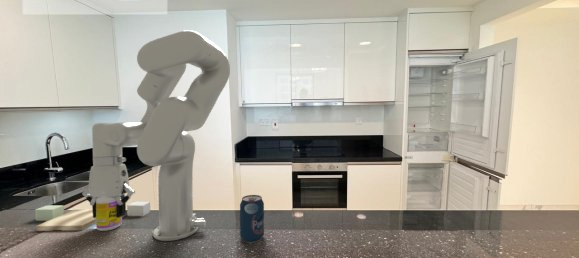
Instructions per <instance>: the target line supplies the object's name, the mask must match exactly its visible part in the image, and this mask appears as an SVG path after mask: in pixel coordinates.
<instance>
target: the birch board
mask: <svg viewBox="0 0 579 258" xmlns="http://www.w3.org/2000/svg"><path fill="white" fill-rule="evenodd" d="M94 224H96V218H93V210H92V208H90V209H82V208H81V209H72V210H69V211H67V212H66V213H65V212H64V214H63V215H61V216H58V217H56V218H54V219H51V220H49V221H45V222H43V223H39V224H38V225H35V231H36V232H46V231H51V232H52V231H53V230H62V231H84V230H85V229H87V228H88V227H91V226H92V225H94ZM83 229H84V230H83Z"/></svg>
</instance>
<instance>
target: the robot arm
mask: <svg viewBox="0 0 579 258" xmlns="http://www.w3.org/2000/svg"><path fill="white" fill-rule="evenodd" d="M136 62H137V65H138V66H139V67H140V69H141V70H142V71H144V72H146V73H145V76H144V77H143V79H142V80H141V82H140V83H139V85H138V87H137V90H136V92H137V95H138V96H139V97H140V98H141V99H142V100H143V101H145V102H146V111H145V113H144V115H143V117H142V118H141V119H140V121H126V122H125V121H124V122H97V123H94V124H93V125H92V128H91V130H92V131H91V133H92V134H91V137H92V164H93V165H92V166H90V172H89V176H88V177H89V179H88V187H86V188H85V189H84V190H83V191H82V193H81V194H82V196H84V198H85V199H86V200H87V201H88V202H89V205H90V206H91V209H92V210H93V218H96V199H97V198H98V197H102V196H106V197H115V198H116V200H117V202H118V204H119V205H117V218H120V217H121V216H122V217H123V216H125V214H126V213H127V207H126V206H127V205H126V204H127V203H128V201H129V200H130V199H131V197H133V196H134V194H136V191H135V189H133V188H132V187H131V186H130V180H129V173H128V170H127V169H128V168H127V166H126V164H125V163H124V162H126V161H127V158H126V157H123V148H124V147H125V148H126V147H132V146H137V147H136V154H137V156H138V159H139V161H141V162H142V163H143V164H144V165H145V166H146V165H147V166H149V167H159V171H158V177H157V178H158V185H157V186H158V191H157V192H158V226H157V227H156V228H155V229H153V232H152V234H153V238H154V239H155V240H157V241H162V242H168V241H169V242H171V241H172V242H173V241H177V240H181V239H185V238H188V237H190V236H192V235H193V234H195V233H196V232H197V231H198V230H199V228H206V225H207V220H205V217H201V218H200V217H199V218H198V217H197V213H194V211H193V208H194V207H193V202H194V201H193V200H194V199H193V198H194V197H193V167H194V158H195V153H196V152H195V151H196V142H195V140H194V137H193V136H192V135H191V134H190V133H189V132H192V131H197V130H199V129H201V128H202V127H203V126H204V124H206V121H207V120H208V118H209V116H210V114H211V112H212V110H213V108H214V107H215V105H216V104H217V101H218V98H219V96H220V95H221V93H222V92H223V90H224V88H225V87H226V85H227V83H228V80H229V78H230V73H231V65H230V62H229V59H228V57H227V55H226V54H225V52H224V51H223V50H222V49H221V48H220V47H219V46H217V44H215V43H214V42H213V41H211V40H209V39H208V38H207V37H205V36H204V35H202V34H201V33H199V32H197V31H194V30H189V29H188V30H182V31H178V32H174V33H171V34H168V35H166V36H161V37H159V38H156V39H153V40H150V41H149V42H146V43H145V44H144V45H142V47H140V49H139V50H138V52H137V55H136ZM187 64H189V65H191V66H194V67H196V68H199V69H200V70H201V72H200V74H198V75H197V76H196V77H195V78H194V79H193V81H192V82H191V83H190V85H189V88H188V89H187V92H185V94H184V96H183V97H182V96H171V95H172V93H173V91H174V90H175V88H176V87H177V85H178V83H179V82H180V80H181V79H182V77H183V75H184V73H185V72H186V68H187ZM102 192H105V193H102ZM125 194H126V195H125Z"/></svg>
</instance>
